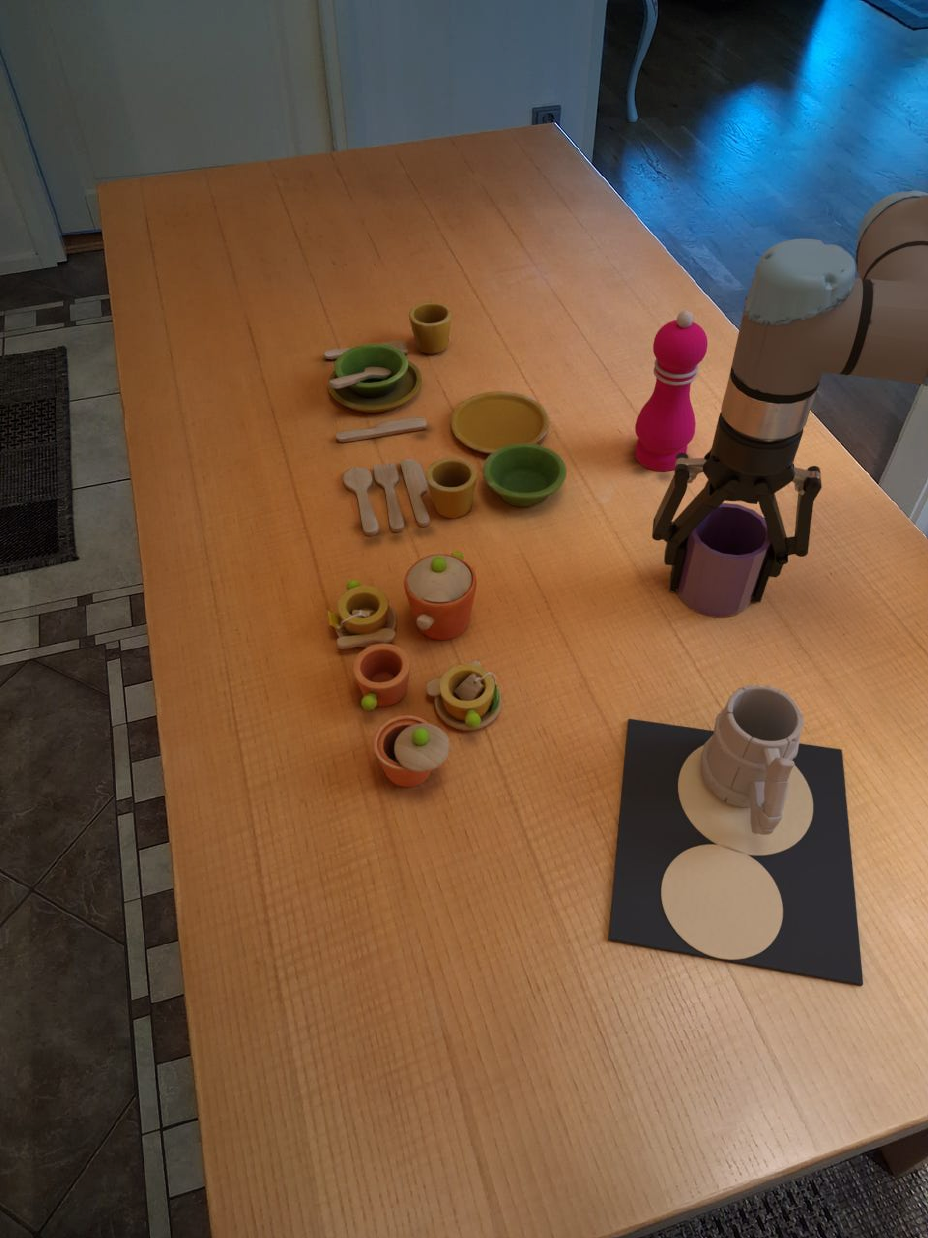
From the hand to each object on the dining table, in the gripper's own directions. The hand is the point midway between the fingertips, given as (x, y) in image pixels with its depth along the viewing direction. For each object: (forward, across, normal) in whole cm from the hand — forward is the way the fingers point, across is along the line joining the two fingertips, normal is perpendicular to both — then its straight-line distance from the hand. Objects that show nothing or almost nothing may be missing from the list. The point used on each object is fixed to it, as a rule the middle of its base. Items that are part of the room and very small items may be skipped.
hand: (714, 587), depth 98 cm
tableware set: (0, +36, -24) cm, 43 cm away
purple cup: (0, 0, 0) cm, 0 cm away
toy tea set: (0, +29, +18) cm, 34 cm away
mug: (0, -3, +26) cm, 26 cm away
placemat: (0, -2, +30) cm, 30 cm away
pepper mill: (0, +7, -22) cm, 23 cm away
